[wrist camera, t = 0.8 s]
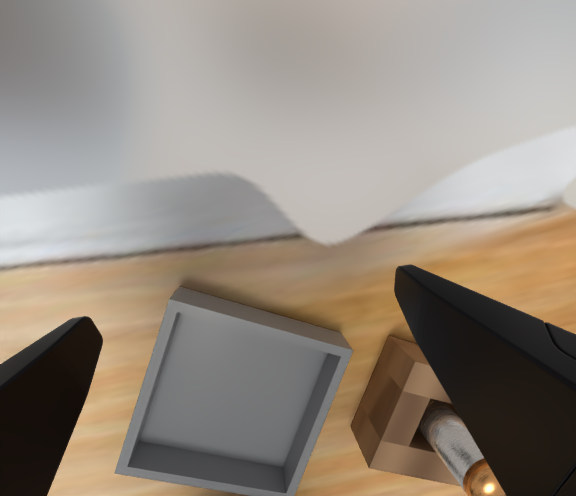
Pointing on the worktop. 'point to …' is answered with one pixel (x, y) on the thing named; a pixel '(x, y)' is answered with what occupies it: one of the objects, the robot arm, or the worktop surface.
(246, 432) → the tray
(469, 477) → the pin
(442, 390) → the pin block
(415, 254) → the worktop surface
